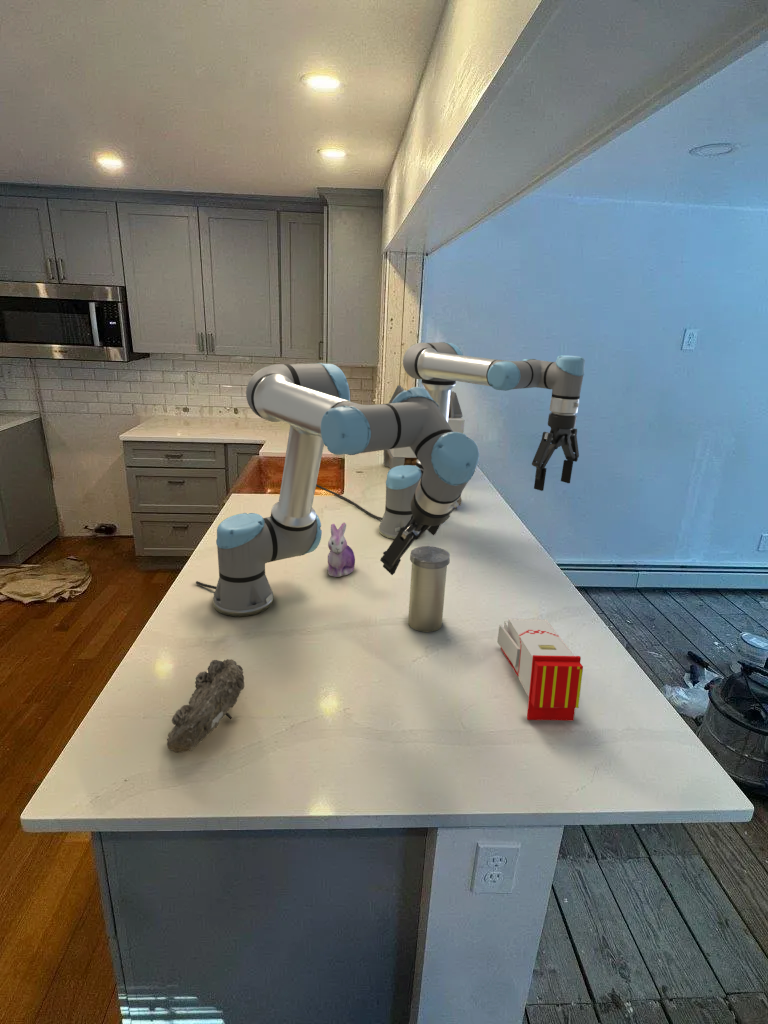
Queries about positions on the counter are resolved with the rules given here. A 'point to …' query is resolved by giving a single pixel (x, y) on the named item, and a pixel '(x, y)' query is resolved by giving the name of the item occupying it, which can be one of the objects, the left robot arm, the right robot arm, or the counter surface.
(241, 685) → the fossil
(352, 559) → the figurine
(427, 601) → the jar
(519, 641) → the toy
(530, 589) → the counter surface
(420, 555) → the lid
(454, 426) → the white wooden box
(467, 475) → the left robot arm
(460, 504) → the figurine character
